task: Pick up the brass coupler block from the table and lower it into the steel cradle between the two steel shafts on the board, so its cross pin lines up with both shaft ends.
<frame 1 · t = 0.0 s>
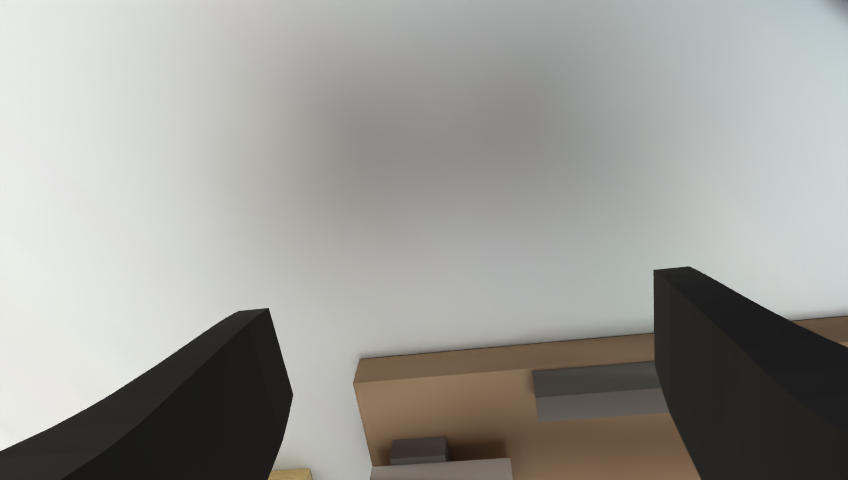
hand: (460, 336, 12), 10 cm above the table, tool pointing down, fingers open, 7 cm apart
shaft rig: (605, 425, 25), on the table
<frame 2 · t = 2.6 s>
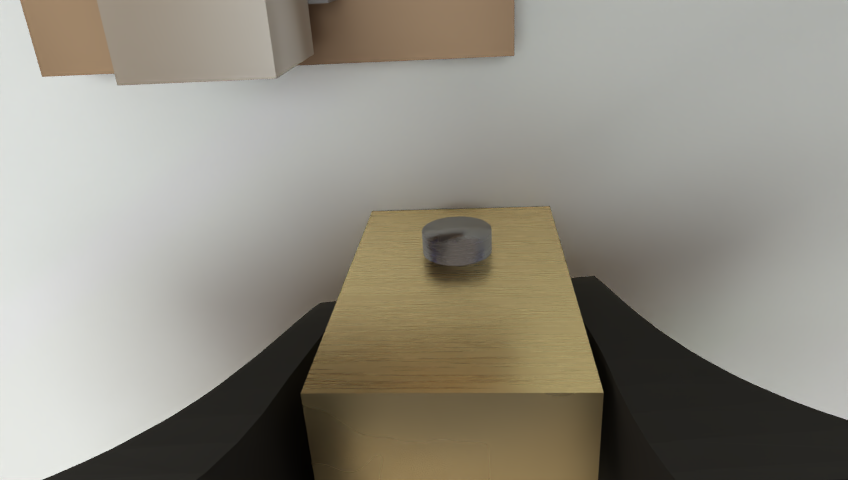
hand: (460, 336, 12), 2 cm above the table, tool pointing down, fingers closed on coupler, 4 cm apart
coupler: (462, 287, 14), on the table, touching gripper
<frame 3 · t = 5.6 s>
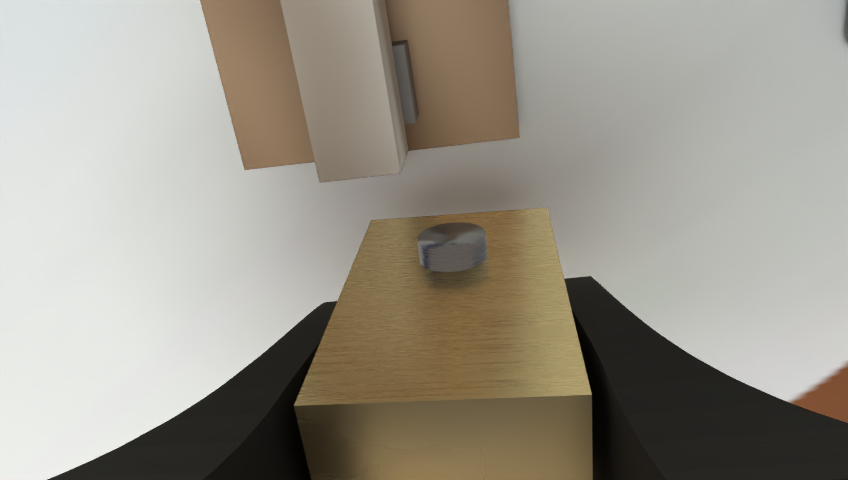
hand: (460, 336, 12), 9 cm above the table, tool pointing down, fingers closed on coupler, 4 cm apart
coupler: (465, 291, 14), point 7 cm above the table, touching gripper
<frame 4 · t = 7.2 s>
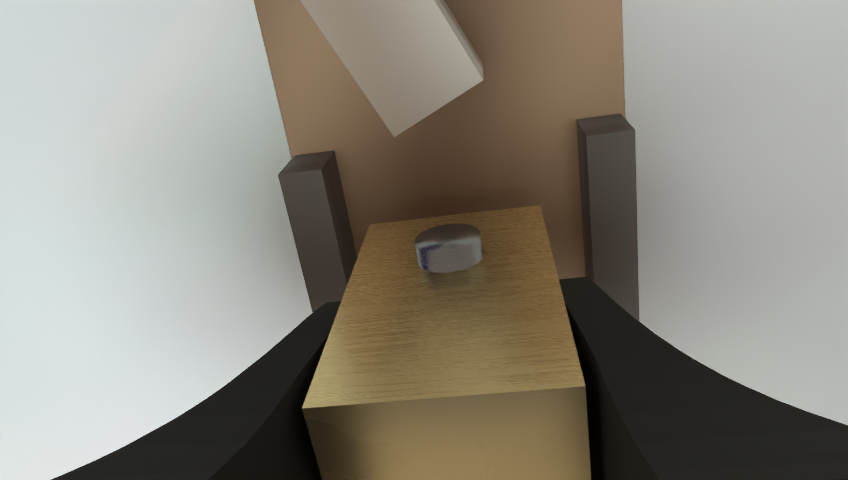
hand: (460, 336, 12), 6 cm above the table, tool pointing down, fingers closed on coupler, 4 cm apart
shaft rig: (466, 212, 18), on the table
coupler: (464, 289, 14), point 4 cm above the table, touching gripper
when the fingers open (4 cm above the table, at t = 8.4 s): coupler stays where it is, resting on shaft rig.
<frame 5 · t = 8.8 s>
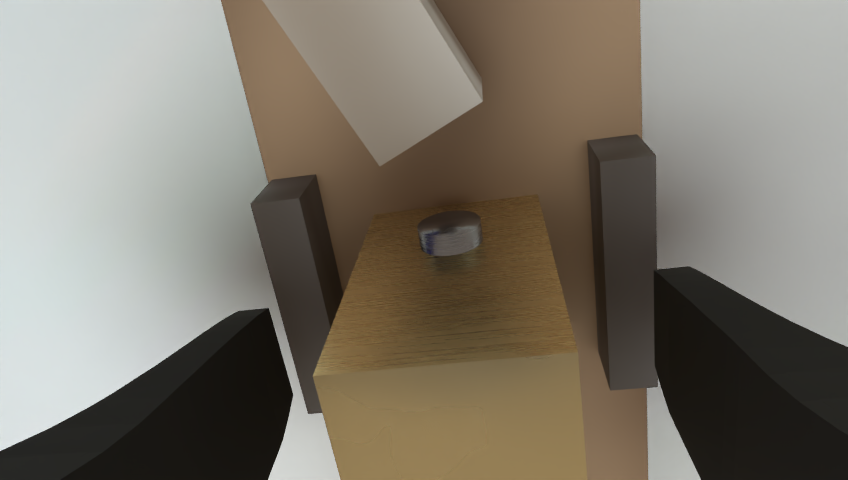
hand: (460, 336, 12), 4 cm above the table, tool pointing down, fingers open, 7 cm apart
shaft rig: (464, 239, 16), on the table
coupler: (465, 277, 15), point 1 cm above the table, touching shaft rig
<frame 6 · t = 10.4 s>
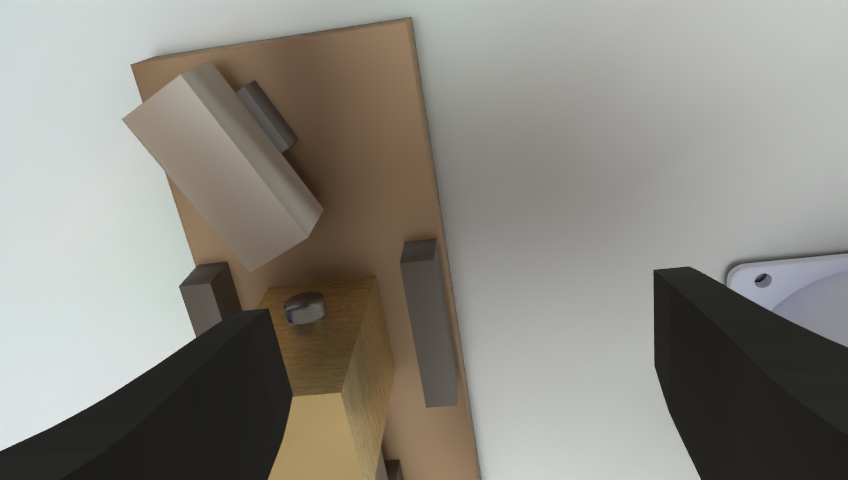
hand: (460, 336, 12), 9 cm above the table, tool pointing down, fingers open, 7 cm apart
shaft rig: (340, 300, 23), on the table
coupler: (333, 329, 22), point 1 cm above the table, touching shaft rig
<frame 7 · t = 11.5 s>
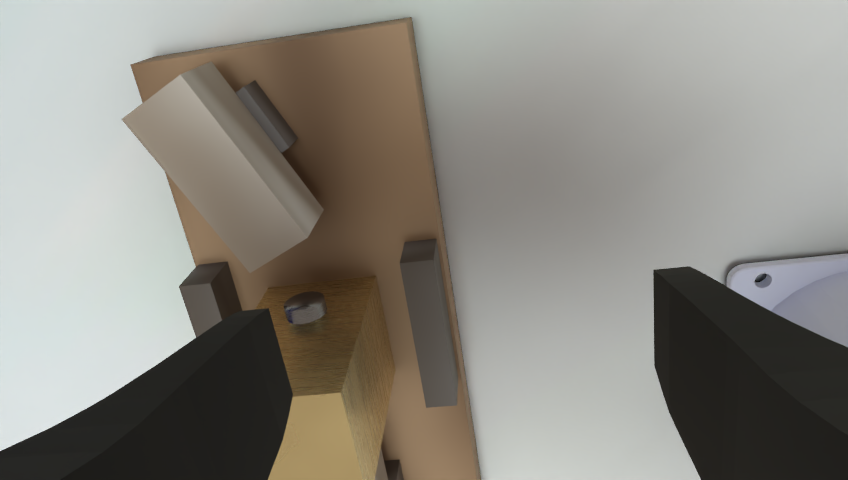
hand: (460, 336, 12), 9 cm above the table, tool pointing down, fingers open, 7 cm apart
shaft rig: (340, 300, 23), on the table
coupler: (333, 329, 22), point 1 cm above the table, touching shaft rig
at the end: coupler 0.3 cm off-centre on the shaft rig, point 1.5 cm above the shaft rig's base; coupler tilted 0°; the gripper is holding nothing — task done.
